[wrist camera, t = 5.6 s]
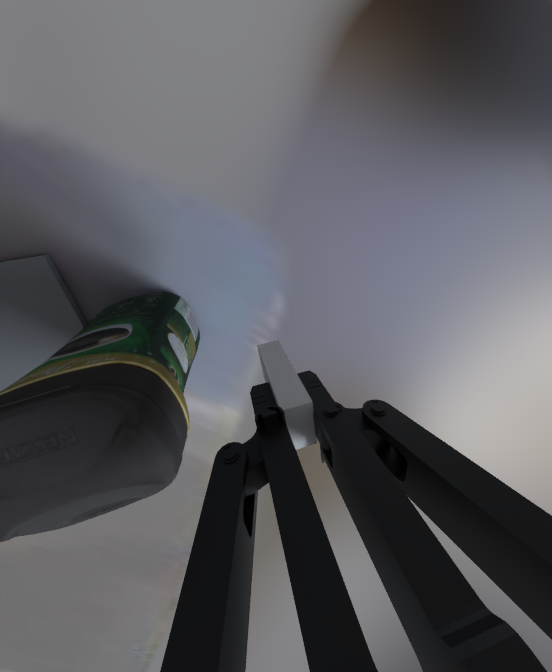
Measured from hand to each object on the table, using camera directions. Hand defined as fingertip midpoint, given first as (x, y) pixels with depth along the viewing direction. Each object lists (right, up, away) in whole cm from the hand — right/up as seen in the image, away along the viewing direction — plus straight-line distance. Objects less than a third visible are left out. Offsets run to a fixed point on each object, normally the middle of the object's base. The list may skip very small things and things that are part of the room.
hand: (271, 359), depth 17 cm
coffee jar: (-13, +3, +10) cm, 16 cm away
